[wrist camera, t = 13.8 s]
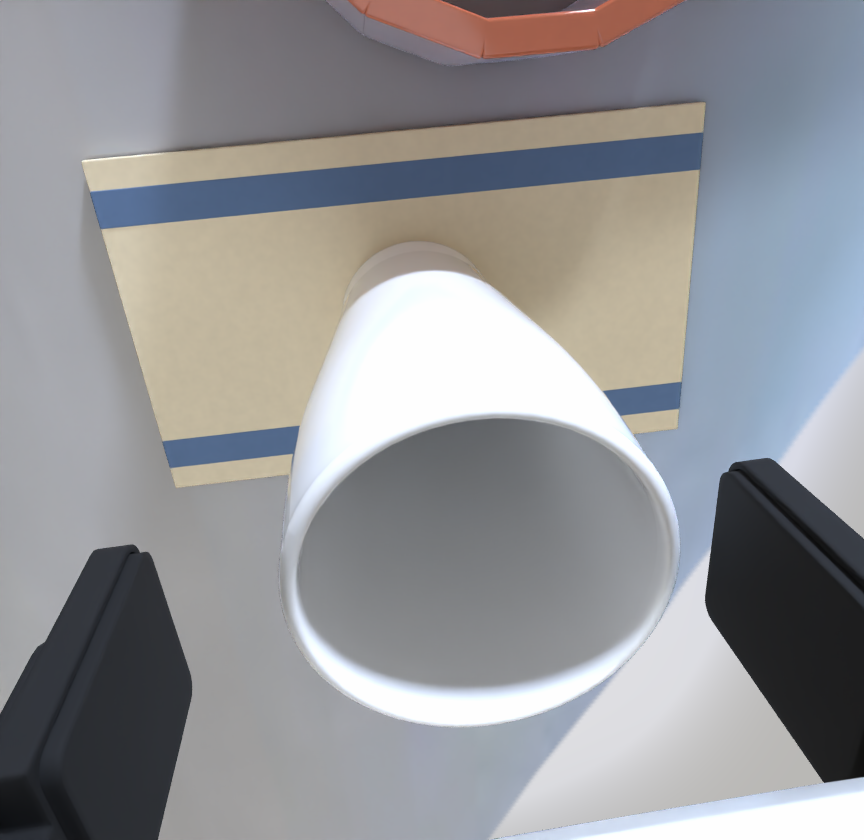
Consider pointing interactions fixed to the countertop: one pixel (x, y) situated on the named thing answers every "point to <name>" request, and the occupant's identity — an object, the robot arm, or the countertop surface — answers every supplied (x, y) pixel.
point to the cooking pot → (495, 28)
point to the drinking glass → (465, 507)
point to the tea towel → (385, 226)
